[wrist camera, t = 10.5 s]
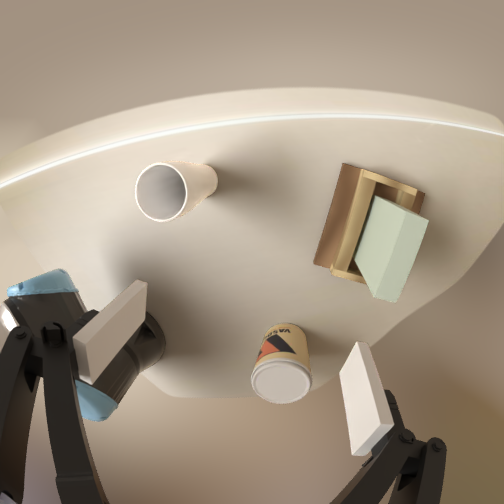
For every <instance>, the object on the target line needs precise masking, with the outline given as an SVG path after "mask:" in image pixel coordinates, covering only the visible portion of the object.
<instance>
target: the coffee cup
mask: <svg viewBox="0 0 504 504" xmlns="http://www.w3.org/2000/svg"><path fill="white" fill-rule="evenodd" d="M251 384H252V387H253V389H254V391H255V392H256V394H257V395H258V396H260V397H261V398H263V399H264V400H267V401H269V402H272V403H278V404H285V403H292V402H295V401H298V400H300V399H301V398H303V397H304V396H305V395H306V394H307V393H308V391H309V390H310V388H311V386H312V375H311V369H310V361H309V354H308V347H307V340H306V336H305V334H304V332H303V331H302V330H301V329H300V328H299V327H298V326H296V325H293V324H289V323H281V324H277V325H275V326H273V327H271V328H270V329H269V330H268V331H267V332H266V334H265V337H264V339H263V342H262V346H261V349H260V352H259V355H258V358H257V361H256V364H255V368H254V370H253V372H252V375H251Z"/></svg>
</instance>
